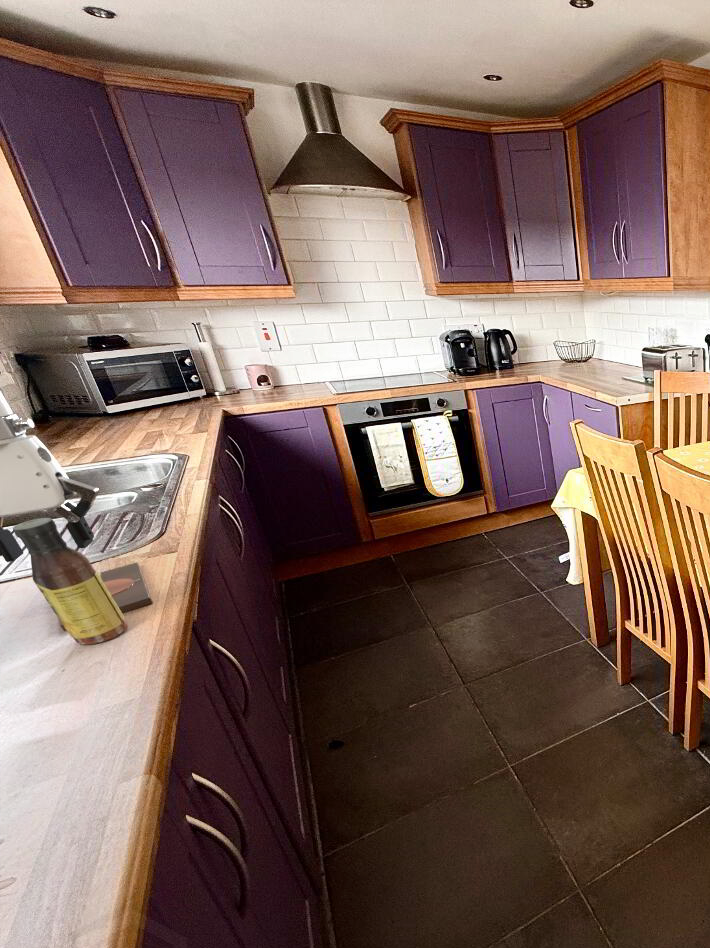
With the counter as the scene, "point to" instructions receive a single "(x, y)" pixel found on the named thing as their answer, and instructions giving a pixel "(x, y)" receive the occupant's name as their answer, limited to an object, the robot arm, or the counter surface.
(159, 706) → the counter surface
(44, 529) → the sauce bottle
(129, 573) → the board
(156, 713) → the counter surface
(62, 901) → the counter surface
